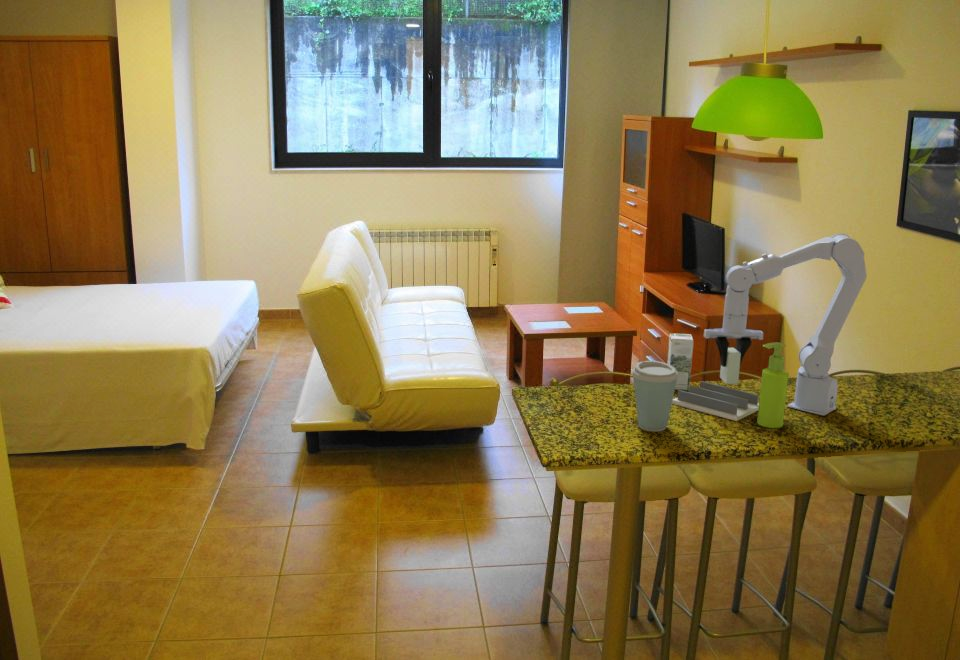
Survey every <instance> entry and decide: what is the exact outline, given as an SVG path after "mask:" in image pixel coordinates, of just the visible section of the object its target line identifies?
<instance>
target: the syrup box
mask: <svg viewBox="0 0 960 660" xmlns="http://www.w3.org/2000/svg"><path fill="white" fill-rule="evenodd" d="M668 336H669V337H668V350H667V361H666V364H669V365H671V366H672V367H674V368H675V369H676V371H677V372H678V379H677V381H676V386H675V390H674V391H678V390H682V391H686V392H689V386H690V385H691V384H690V383H691V373H692V364H693V361H692V360H693V351H694V339H693V336H692V334H691V333H690V334H689V333H669V335H668Z"/></svg>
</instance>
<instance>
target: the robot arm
mask: <svg viewBox="0 0 960 660" xmlns="http://www.w3.org/2000/svg"><path fill="white" fill-rule="evenodd" d="M813 259H822V260H827V261H831V260H832V259H833V260H834V262H835V263H837V267H838V268H839V271H840V273H841V275H842V277H841V279H840V281H839V283H838V286H837V288H836V290H835V291H834V294H833V296H832V298H831V300H830V302H829V304H828V306H827V308H826V310H825V312H824V314H823V315H822V316H823V317H822V318H821V321H820V323H819V325H818V327H817V329H816V331H815V332H814V334H813V335H812V336H811V337H810V338H809V340H808V342H807V343H806V344H805V345H804V346H803V347H801V349H800V350H799V352H798V360H799V362H800V364H801V366H800V367H799V368H798V369H797V375H796V384H795V393H794V400H793V401H792V402H790V403H789V404H787V408H791V409H795V410H800V411H803V412H807V413H811V414H815V415H819V416H826V415H828V414H829V413H832V412H833V411H834V410H836V409H837V407H836V404H837V403H836V402H837V394H838V385H839V384H838V380H837V379H836V378H835V377H834V378H833V377H830V375H829V371H830V369H831V366H832V364H831V360H832V356H833V354H834V351H835V350H834V348H835V342H836V341H837V338H838V336H839V335H840V332H841V330H842V328H843V326H844V324H845V323H846V320H847V319H848V316H849V314H850V312H851V310H852V308H853V306H854V304H855V302H856V300H857V298H858V295H859V294H860V292H861V290H862V288H863V285H864V283H865V281H866V280H867V270H866V263H865V251H864V250H863V248H862V247H861V244H859V242H858V241H857V240H856V239H853V238H851V236H850V235H848V234H845V233H836V234H833V235H832V236H826V237H823V238H820V239H817V240H814V241H812V242H811V243H808V244H806V245H802V246H800V247H798V248H795V249H793V250H791V251H789V252H785V253H783V254H781V255H776V254H774V253H770V254H768V253H766V252H765V253H762V254H761V257H759V258H756V259H754V260H751V261H749V262H747V260H746V261H743V262H742V265H739V264H738V265H734V266H732V267H730V268H729V269H728V271H727V272H726V275H725V280H726V283H727V285H726V290H725V291H726V293H725V297H724V305H723V307H724V308H723V317H722V328H721V327H720V328H708V329H707V328H705V329H704V330H703V331H704V332H703V338H705V339H714V341H715V343H716V346H717V349H718V352H719V358H720V366H721V365H722V366H723V367H726V361H727V351H728V348H729V345H730V343H729V340H728V339H736V350H737V351H738V352H740V353H741V357H740V366H741V364H742V362H743V359H744V357H745V355H746V353H747V351H748V350H749V348H751V346H752V343H753V342H752V340H760V341H761V340H764V332H763V331H762V330H755V329H747V322H748V321H747V320H748V312H749V300H750V296H749V294H750V288H751V287H752V285H757V284H760V283H763V282H765V281H768V280H771V279H774V278H776V277H779V276H781V274H782V272H783V271H784V269H787V268H790V267H792V266H796V265H799V264H801V263H805V262H807V261H811V260H813Z"/></svg>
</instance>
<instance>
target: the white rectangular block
mask: <svg viewBox="0 0 960 660" xmlns="http://www.w3.org/2000/svg"><path fill="white" fill-rule="evenodd" d="M740 357H741V353H740V352H738V351H737V348H735V347H728V351H727V361H726V367H723V366H722V365H721V364H720V373H719V378H720V379H721V380H722V381H723V382H724V383H725V384H726V385H739V378H740V370H741V369H740V368H741V365H740Z"/></svg>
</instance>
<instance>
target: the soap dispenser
mask: <svg viewBox="0 0 960 660" xmlns="http://www.w3.org/2000/svg"><path fill="white" fill-rule="evenodd" d="M786 346H787V344H786V343H784V342H783V343H782V342H776V341H774V342H773V341H772V342H768V343H765V344H762V348H765V349H767V350H769V349H773V348H774V349H773V354H772V355H769V359H768V366H767V367H766V368H763V369H762V373H761V383H760V392H759V399H758V403H759V409H758V411H757V420H756V423H757V424H758V425H759V426H761V427H764V428H770V429H778V428H781V427H782V428H783V426H784V419H785V418H784V417H785V410H786V409H785V408H786V399H787V389H788V381H789V374H790V373H789V371H787V370H785V369H784V368H785V367H784V366H785V356H783V355H782V351H783V348H786Z"/></svg>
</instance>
